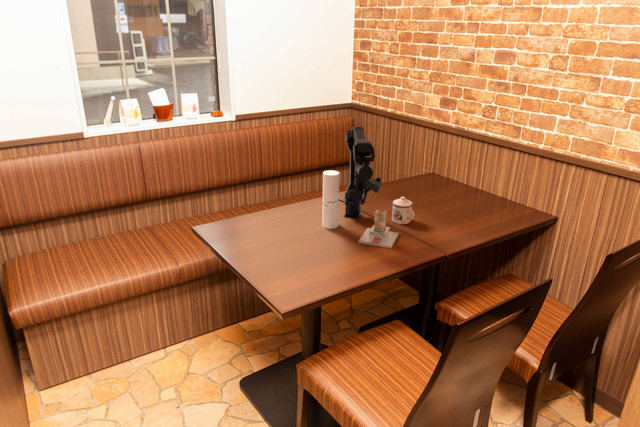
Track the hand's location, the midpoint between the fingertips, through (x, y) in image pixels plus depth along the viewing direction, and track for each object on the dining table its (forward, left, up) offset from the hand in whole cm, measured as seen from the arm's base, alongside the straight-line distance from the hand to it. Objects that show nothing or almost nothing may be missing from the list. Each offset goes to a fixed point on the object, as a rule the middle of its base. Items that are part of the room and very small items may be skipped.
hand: (360, 207), depth 196 cm
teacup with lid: (+15, +22, -13) cm, 30 cm away
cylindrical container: (-15, +5, -13) cm, 21 cm away
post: (+9, 0, -8) cm, 12 cm away
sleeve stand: (+9, 0, -13) cm, 16 cm away
